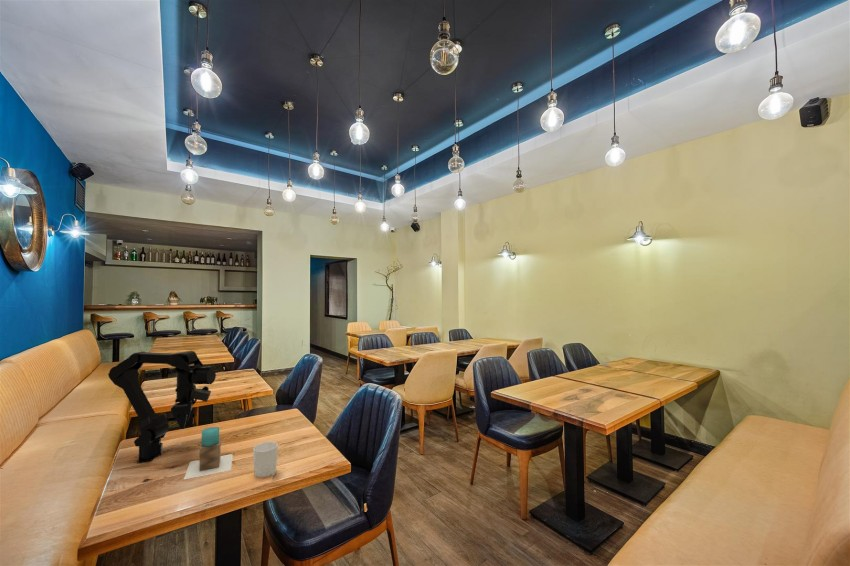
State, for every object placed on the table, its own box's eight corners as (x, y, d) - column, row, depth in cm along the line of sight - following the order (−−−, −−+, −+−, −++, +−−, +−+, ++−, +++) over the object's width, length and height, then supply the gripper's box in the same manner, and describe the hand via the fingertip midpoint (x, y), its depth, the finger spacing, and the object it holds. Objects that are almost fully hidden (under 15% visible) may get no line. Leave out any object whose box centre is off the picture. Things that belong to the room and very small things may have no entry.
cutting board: (183, 482, 117) (183, 479, 117) (190, 464, 130) (190, 461, 130) (230, 472, 124) (230, 470, 124) (232, 456, 136) (233, 453, 136)
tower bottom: (199, 471, 123) (199, 459, 123) (201, 463, 128) (201, 452, 128) (218, 467, 125) (219, 456, 126) (220, 460, 131) (220, 449, 131)
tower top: (199, 459, 123) (199, 448, 123) (201, 452, 128) (202, 442, 128) (219, 456, 126) (219, 445, 126) (220, 449, 131) (220, 438, 131)
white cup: (270, 467, 128) (271, 439, 128) (281, 474, 123) (281, 445, 123) (248, 475, 122) (249, 447, 122) (259, 483, 117) (259, 453, 117)
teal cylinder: (200, 448, 123) (200, 434, 123) (202, 442, 128) (202, 428, 128) (218, 445, 126) (218, 431, 126) (219, 439, 131) (219, 426, 131)
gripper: (206, 387, 131) (206, 429, 130) (212, 376, 148) (211, 413, 147) (170, 391, 126) (170, 434, 125) (180, 379, 143) (179, 417, 142)
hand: (184, 424), depth 135 cm, fingers open, 9 cm apart
